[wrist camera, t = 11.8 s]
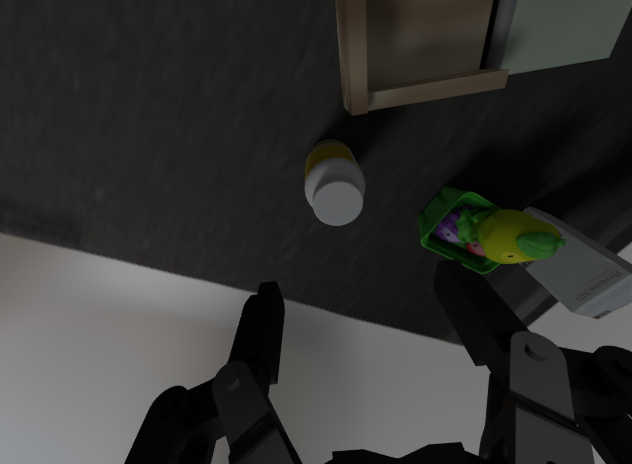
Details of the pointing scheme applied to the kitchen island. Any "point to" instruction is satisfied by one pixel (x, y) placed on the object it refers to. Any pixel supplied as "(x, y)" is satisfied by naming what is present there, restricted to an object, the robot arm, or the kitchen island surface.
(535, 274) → the skincare box
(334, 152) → the supplement bottle
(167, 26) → the kitchen island surface
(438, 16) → the brown wooden open box
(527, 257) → the fruit basket
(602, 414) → the robot arm
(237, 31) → the kitchen island surface
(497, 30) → the panel
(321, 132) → the kitchen island surface
